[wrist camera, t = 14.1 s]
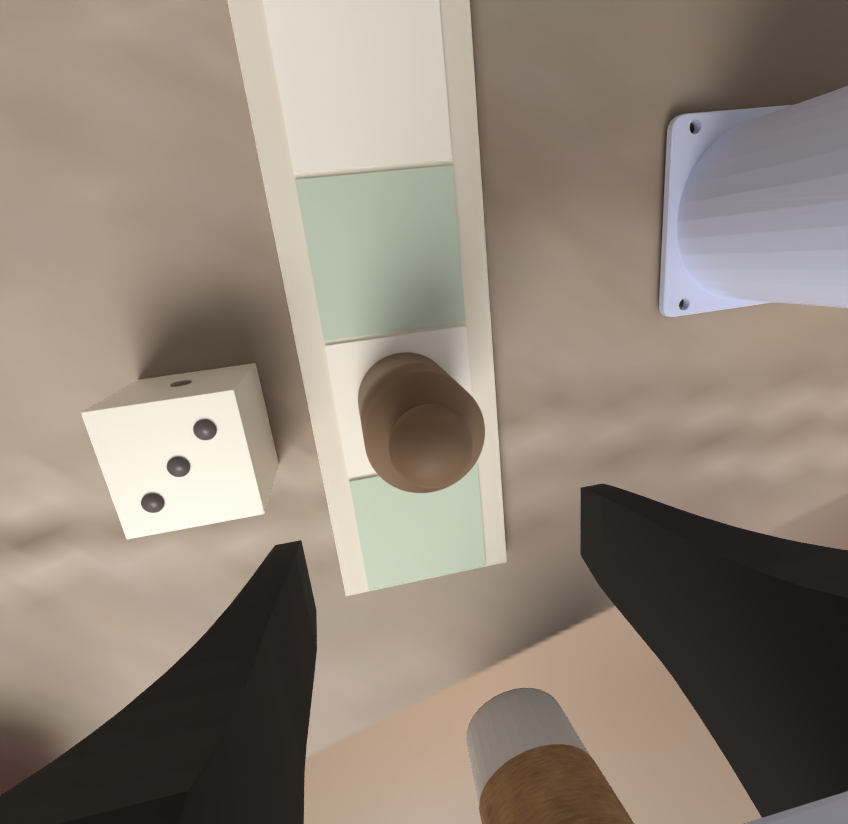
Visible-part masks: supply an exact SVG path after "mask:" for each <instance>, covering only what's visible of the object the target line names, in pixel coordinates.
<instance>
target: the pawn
mask: <svg viewBox="0 0 848 824" xmlns="http://www.w3.org/2000/svg"><path fill="white" fill-rule="evenodd" d="M358 408H359V414H360V420H361V426H362V433H363V439H364V445H365V450H366V455H367V457H368V460H369V462H370V464H371V466H372V468H373V469H374V470H375V472H376V473H377V474H378V475H379V476H380V477H381V478H382V479H383V480H384V481H385V482H387V483H388V484H390V485H392V486H393V487H395V488H398V489H400V490H403V491H407V492H412V493H430V492H435V491H439V490H442V489H445V488H447V487H449V486H451V485H453V484H455V483H456V482H458V481H459V480H461V479H462V478H463V477H464V476H465V475H466V474H467V473H468V472H469V471H470V470H471V469H472V468H473V466H474V465H475V463H476V462H477V460H478V458H479V456H480V454H481V451H482V448H483V445H484V439H485V424H484V419H483V415H482V412H481V410H480V407H479V406H478V404H477V402H476V401H475V399H474V398H473V397H472V396H471V395H470V394H469V393H468V392H467V391H466V390H465V389H464V388H463V387H462V386H461V385H460V384H459V383H457V382H456V381H455V380H454V379H453V378H452V377H451V376H450V375H449V374H448V373H447V372H446V371H444V370H443V369H442V368H441V367H440V366H439V365H438V364H437V363H436V362H434V361H433V360H431V359H430V358H428V357H426V356H424V355H421V354H417V353H411V352H402V353H396V354H392V355H389V356H387V357H385V358H383V359H381V360H379V361H378V362H376V363H375V364H374V365H373V366H372V367H371V368H370V369H369V370H368V371H367V373H366V374H365V376H364V378H363V380H362V382H361V385H360V387H359V392H358Z"/></svg>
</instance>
